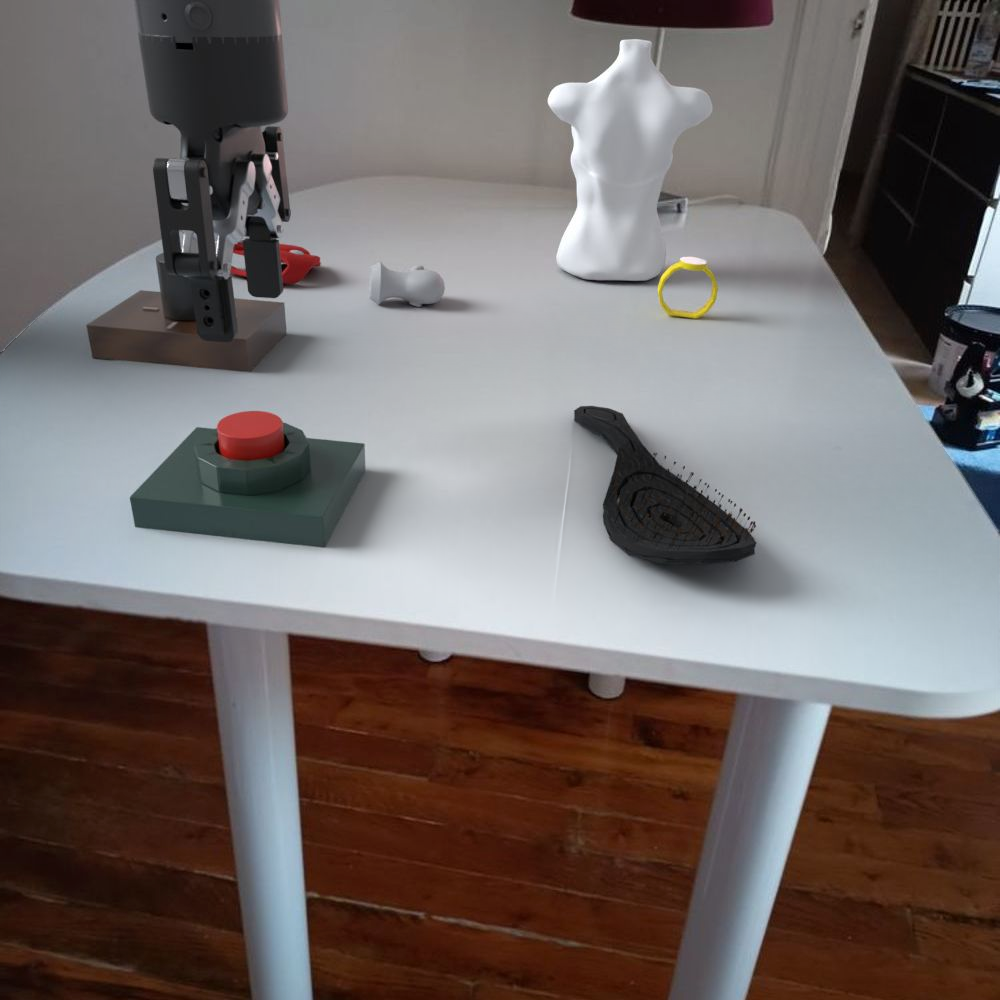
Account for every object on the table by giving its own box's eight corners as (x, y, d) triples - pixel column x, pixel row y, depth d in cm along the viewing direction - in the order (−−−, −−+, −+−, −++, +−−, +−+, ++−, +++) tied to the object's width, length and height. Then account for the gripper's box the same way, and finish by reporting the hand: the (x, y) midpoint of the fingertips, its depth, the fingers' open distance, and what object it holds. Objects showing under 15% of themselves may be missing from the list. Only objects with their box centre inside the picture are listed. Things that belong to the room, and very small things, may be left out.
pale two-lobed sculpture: (445, 309, 98) (441, 309, 93) (371, 303, 98) (363, 303, 93) (448, 268, 97) (444, 266, 92) (373, 262, 97) (365, 260, 92)
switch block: (134, 527, 56) (124, 470, 54) (200, 454, 65) (193, 402, 63) (324, 548, 55) (321, 491, 53) (365, 471, 64) (364, 419, 62)
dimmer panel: (92, 358, 79) (85, 323, 77) (145, 320, 88) (140, 288, 86) (248, 372, 78) (245, 337, 76) (286, 333, 86) (284, 300, 85)
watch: (655, 318, 95) (663, 261, 92) (653, 310, 98) (661, 254, 95) (713, 322, 95) (723, 265, 92) (710, 313, 97) (719, 258, 94)
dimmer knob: (203, 323, 79) (195, 262, 76) (154, 318, 80) (145, 257, 77) (223, 307, 83) (216, 248, 80) (177, 302, 83) (169, 244, 81)
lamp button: (209, 460, 57) (206, 434, 56) (233, 432, 60) (231, 408, 59) (272, 466, 56) (270, 441, 55) (293, 438, 60) (291, 413, 59)
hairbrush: (636, 379, 73) (793, 531, 52) (632, 422, 75) (782, 586, 53) (536, 384, 71) (655, 543, 50) (534, 428, 73) (648, 600, 51)
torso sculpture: (673, 262, 114) (704, 39, 102) (694, 286, 106) (732, 46, 93) (529, 259, 112) (544, 31, 100) (540, 283, 104) (557, 37, 91)
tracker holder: (306, 248, 108) (338, 248, 100) (303, 286, 109) (335, 289, 100) (201, 232, 101) (227, 231, 93) (199, 273, 102) (224, 275, 94)
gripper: (195, 20, 56) (227, 281, 64) (77, 30, 44) (135, 352, 52) (315, 24, 55) (332, 287, 63) (229, 35, 43) (264, 361, 51)
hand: (244, 316), depth 57 cm, fingers open, 8 cm apart
